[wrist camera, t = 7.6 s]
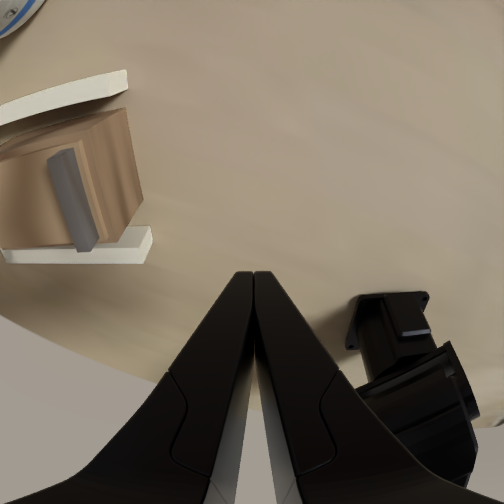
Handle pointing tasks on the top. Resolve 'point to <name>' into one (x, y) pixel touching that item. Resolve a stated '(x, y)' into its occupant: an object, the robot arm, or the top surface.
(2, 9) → the supplement tub
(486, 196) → the top surface
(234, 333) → the robot arm
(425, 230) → the top surface
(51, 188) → the block
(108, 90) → the bay
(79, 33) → the top surface
